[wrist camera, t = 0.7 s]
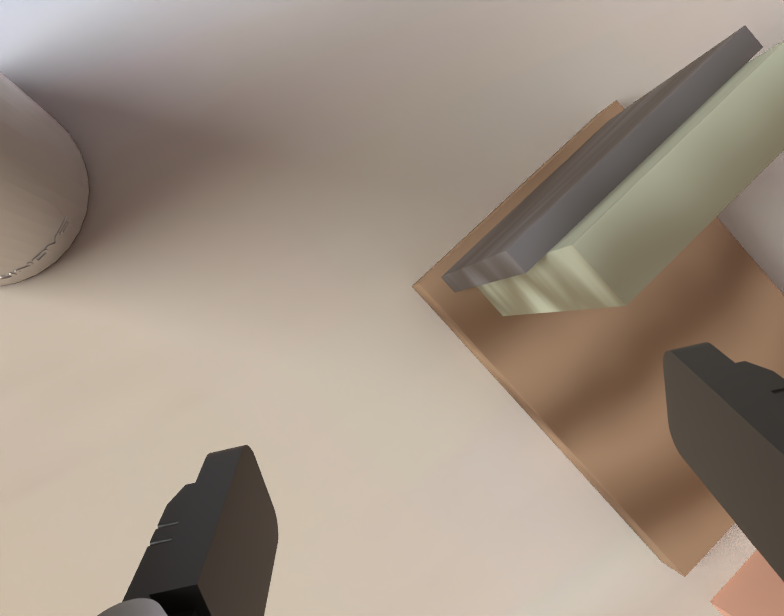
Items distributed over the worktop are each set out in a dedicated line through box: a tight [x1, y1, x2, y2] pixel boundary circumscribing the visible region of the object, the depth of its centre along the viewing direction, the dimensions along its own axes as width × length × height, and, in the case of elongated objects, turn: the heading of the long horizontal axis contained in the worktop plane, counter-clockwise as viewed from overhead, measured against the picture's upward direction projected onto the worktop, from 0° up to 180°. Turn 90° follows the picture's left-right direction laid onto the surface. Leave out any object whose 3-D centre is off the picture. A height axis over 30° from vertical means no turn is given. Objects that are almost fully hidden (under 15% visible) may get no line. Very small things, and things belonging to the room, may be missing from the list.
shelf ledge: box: [412, 26, 784, 577], centre depth 27 cm, size 20×14×14 cm
